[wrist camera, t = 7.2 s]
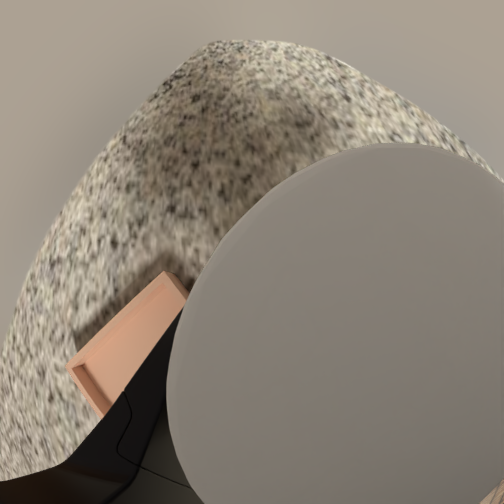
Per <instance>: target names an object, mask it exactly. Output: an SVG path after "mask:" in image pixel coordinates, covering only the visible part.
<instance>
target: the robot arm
mask: <svg viewBox="0 0 504 504" xmlns="http://www.w3.org/2000/svg"><path fill="white" fill-rule="evenodd" d="M183 308H184V306H183ZM183 308H182V309H181V310H180V312H179V313H178V314H177V316H176V317H175V319H174V320H173V321H172V323H171V324H170V325H169V327H168V328H167V329H166V331H165V332H164V334H163V335H162V336H161V338H160V339H159V340H158V342H157V343H156V345H155V346H154V347H153V349H152V350H151V352H150V353H149V354H148V356H147V357H146V359H145V360H144V361H143V363H142V364H141V366H140V367H139V368H138V370H137V371H136V373H135V374H134V375H133V377H132V378H131V380H130V381H129V382H128V384H127V385H126V387H125V388H124V391H122V392H121V394H120V395H119V397H118V398H117V399H116V401H115V402H114V404H113V405H112V406H111V408H110V409H109V410H108V412H107V413H106V414H105V416H104V417H103V418H102V419H101V421H100V422H99V423H98V424H97V425H96V427H95V428H94V429H93V430H92V431H91V433H90V434H89V435H88V436H87V437H86V438H85V440H84V441H83V442H82V443H81V444H80V445H79V447H78V448H77V449H76V450H75V451H74V453H73V454H72V455H71V456H70V457H69V458H68V459H66V460H65V461H64V462H62V463H61V464H59V465H57V466H55V467H52V468H49V469H46V470H43V471H40V472H36V473H33V474H29V475H26V476H22V477H19V478H15V479H11V480H7V481H0V504H204V503H203V501H202V500H201V499H200V498H199V496H198V495H197V494H196V493H195V491H194V490H193V488H192V487H191V485H190V484H189V482H188V480H187V478H186V475H185V473H184V471H183V469H182V467H181V464H180V462H179V460H178V458H177V455H176V451H175V448H174V444H173V441H172V437H171V433H170V429H169V421H168V413H167V399H166V386H167V375H168V368H169V361H170V356H171V351H172V346H173V341H174V336H175V332H176V329H177V326H178V323H179V320H180V317H181V314H182V311H183ZM503 504H504V503H503Z"/></svg>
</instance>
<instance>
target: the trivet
mask: <svg viewBox="0 0 504 504" xmlns="http://www.w3.org/2000/svg"><path fill="white" fill-rule="evenodd" d="M503 503H504V479H503V480H502V481H501V482H500V483H499V484H498V485H497V486H496V487H495V488H494V489H493V490H492V491H491V492H490V493H489V494H488V495H487V496H486V497H485V498H484V499H483V500H482V501H481V502H480V503H479V504H503Z"/></svg>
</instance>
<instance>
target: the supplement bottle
mask: <svg viewBox="0 0 504 504" xmlns="http://www.w3.org/2000/svg"><path fill="white" fill-rule="evenodd" d="M166 399H167V413H168V421H169V429H170V433H171V437H172V441H173V444H174V448H175V451H176V455H177V458H178V460H179V462H180V464H181V467H182V469H183V471H184V473H185V475H186V478H187V480H188V482H189V484H190V485H191V487H192V488H193V490H194V491H195V493H196V494H197V495H198V496H199V498H200V499H201V500H202V501H203V503H204V504H479V503H480V502H481V501H482V500H483V499H484V498H485V497H486V496H487V495H488V494H489V493H490V492H491V491H492V490H493V489H494V488H495V487H496V486H497V485H498V484H499V483H500V482H501V481H502V480H503V479H504V183H502V182H501V181H500V180H499V179H498V178H497V177H495V176H494V175H493V174H491V173H490V172H489V171H487V170H486V169H484V168H483V167H482V166H480V165H479V164H477V163H475V162H473V161H471V160H469V159H466V158H464V157H462V156H460V155H457V154H455V153H453V152H450V151H448V150H445V149H442V148H439V147H434V146H428V145H422V144H415V143H378V144H371V145H367V146H362V147H358V148H354V149H349V150H344V151H341V152H339V153H336V154H333V155H331V156H328V157H326V158H323V159H321V160H319V161H317V162H315V163H313V164H311V165H309V166H307V167H305V168H303V169H301V170H299V171H297V172H296V173H294V174H293V175H291V176H290V177H288V178H287V179H285V180H284V181H282V182H281V183H279V184H278V185H276V186H275V187H273V188H272V189H271V190H270V191H269V192H268V193H267V194H266V195H264V196H263V197H262V198H261V199H260V200H259V201H258V202H257V203H256V204H255V205H254V206H253V207H252V208H251V209H249V210H248V211H247V212H246V213H245V214H244V215H243V216H242V217H241V218H240V219H239V220H238V221H237V223H236V224H235V225H234V226H233V227H232V228H231V229H230V230H229V231H228V233H227V234H226V235H225V236H224V237H223V238H222V239H221V241H220V242H219V244H218V246H217V247H216V249H215V251H214V252H213V254H212V255H211V257H210V259H209V260H208V262H207V263H206V265H205V267H204V268H203V270H202V272H201V273H200V275H199V277H198V278H197V280H196V282H195V284H194V286H193V288H192V290H191V292H190V294H189V296H188V298H187V301H186V303H185V305H184V308H183V311H182V314H181V317H180V320H179V323H178V326H177V329H176V332H175V336H174V341H173V346H172V351H171V356H170V361H169V368H168V375H167V386H166Z"/></svg>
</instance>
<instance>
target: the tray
mask: <svg viewBox="0 0 504 504" xmlns="http://www.w3.org/2000/svg"><path fill="white" fill-rule="evenodd" d="M189 294H190V293H189V292H188V291H187V289H186V288H185V287H184V285H183V284H182V283H181V282H180V280H179V279H178V278H177V276H176V275H175V274H173V273H170V272H166V271H163V272H162V273H160V274H159V275H158V276H157V277H156V278H155V279H154V280H153V281H152V282H151V283H150V284H148V285H147V286H146V287H145V288H144V289H143V290H142V291H141V292H140V293H139V294H138V295H137V296H135V297H134V298H133V299H132V300H131V301H130V302H129V303H128V304H127V305H126V306H125V307H124V308H123V309H122V310H121V311H120V312H119V313H117V314H116V315H115V316H114V317H113V318H112V319H111V320H110V321H109V322H108V323H107V324H106V325H105V326H104V327H103V328H102V329H101V330H100V331H99V332H98V333H97V334H96V335H95V336H94V337H93V338H92V339H91V340H90V341H89V342H88V343H87V344H86V345H85V346H84V347H83V348H82V349H81V350H80V351H79V352H78V353H77V354H76V355H75V356H74V357H73V358H72V359H71V360H70V361H69V362H68V363H67V364H66V365H65V367H66V369H67V370H68V372H69V374H70V375H71V377H72V378H73V380H74V382H75V383H76V385H77V386H78V388H79V389H80V391H81V392H82V394H83V395H84V397H85V398H86V399H87V401H88V402H89V404H90V405H91V406H92V408H93V409H94V411H95V412H96V413H97V415H98V416H99V417H100V419H102V418H103V417H104V416H105V414H106V413H107V412H108V410H109V409H110V408H111V406H112V405H113V404H114V402H115V401H116V399H117V398H118V397H119V395H120V394H121V392H122V391H124V388H125V387H126V385H127V384H128V382H129V381H130V380H131V378H132V377H133V375H134V374H135V373H136V371H137V370H138V368H139V367H140V366H141V364H142V363H143V361H144V360H145V359H146V357H147V356H148V354H149V353H150V352H151V350H152V349H153V347H154V346H155V345H156V343H157V342H158V340H159V339H160V338H161V336H162V335H163V334H164V332H165V331H166V329H167V328H168V327H169V325H170V324H171V323H172V321H173V320H174V319H175V317H176V316H177V314H178V313H179V312H180V310H181V309H182V308H183V306H184V305H185V303H186V301H187V298H188V296H189Z"/></svg>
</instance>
